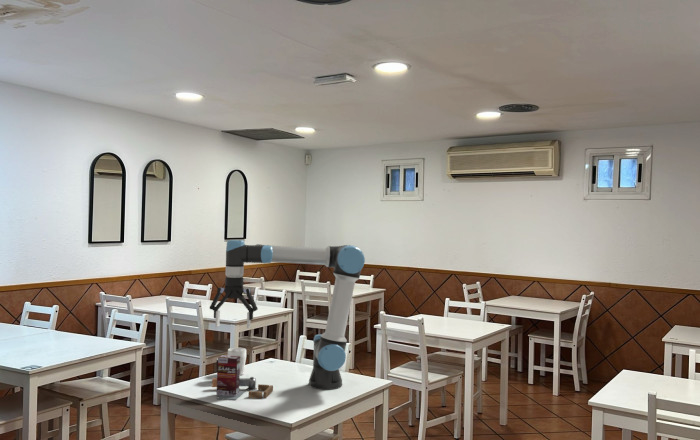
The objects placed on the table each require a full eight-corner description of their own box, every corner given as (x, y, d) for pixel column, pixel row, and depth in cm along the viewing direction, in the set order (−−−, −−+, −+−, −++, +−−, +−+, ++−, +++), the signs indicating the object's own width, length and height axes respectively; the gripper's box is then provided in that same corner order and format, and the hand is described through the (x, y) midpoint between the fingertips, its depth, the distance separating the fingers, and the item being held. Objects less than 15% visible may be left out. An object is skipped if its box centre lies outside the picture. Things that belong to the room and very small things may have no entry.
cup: (243, 376, 270) (244, 351, 270) (225, 376, 270) (225, 350, 270) (247, 372, 279) (248, 347, 279) (229, 371, 279) (230, 347, 279)
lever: (255, 389, 247) (255, 378, 247) (211, 389, 245) (212, 378, 245) (255, 387, 250) (256, 376, 251) (212, 387, 248) (213, 376, 248)
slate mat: (244, 392, 243) (244, 391, 243) (235, 400, 231) (235, 399, 231) (226, 391, 244) (226, 390, 244) (216, 399, 232) (216, 398, 233)
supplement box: (215, 395, 236) (217, 357, 237) (220, 392, 241) (221, 354, 241) (235, 396, 235) (237, 358, 235) (239, 393, 240) (240, 355, 240)
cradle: (274, 389, 250) (275, 383, 250) (265, 398, 235) (265, 392, 235) (248, 387, 251) (248, 382, 251) (237, 396, 236) (237, 391, 236)
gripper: (265, 276, 241) (264, 326, 241) (209, 275, 245) (207, 324, 244) (260, 278, 234) (259, 329, 233) (202, 276, 237) (201, 327, 237)
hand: (233, 327), depth 239 cm, fingers open, 13 cm apart
